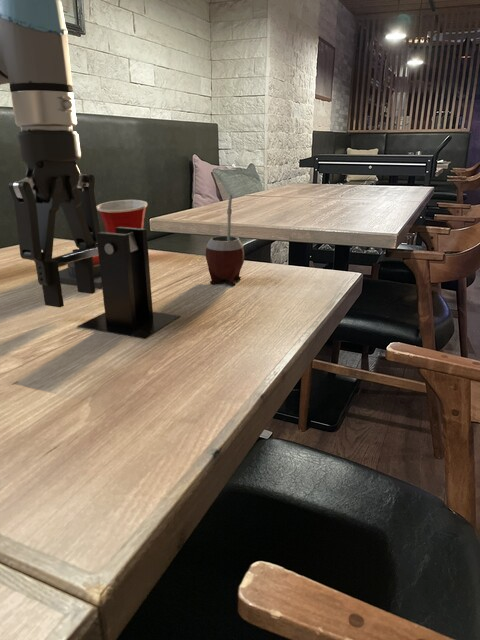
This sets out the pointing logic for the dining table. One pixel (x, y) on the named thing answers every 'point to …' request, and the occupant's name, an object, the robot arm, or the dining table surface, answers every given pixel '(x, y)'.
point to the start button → (96, 260)
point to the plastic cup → (122, 214)
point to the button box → (70, 276)
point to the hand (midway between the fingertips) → (71, 298)
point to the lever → (89, 253)
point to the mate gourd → (225, 256)
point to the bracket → (126, 287)
